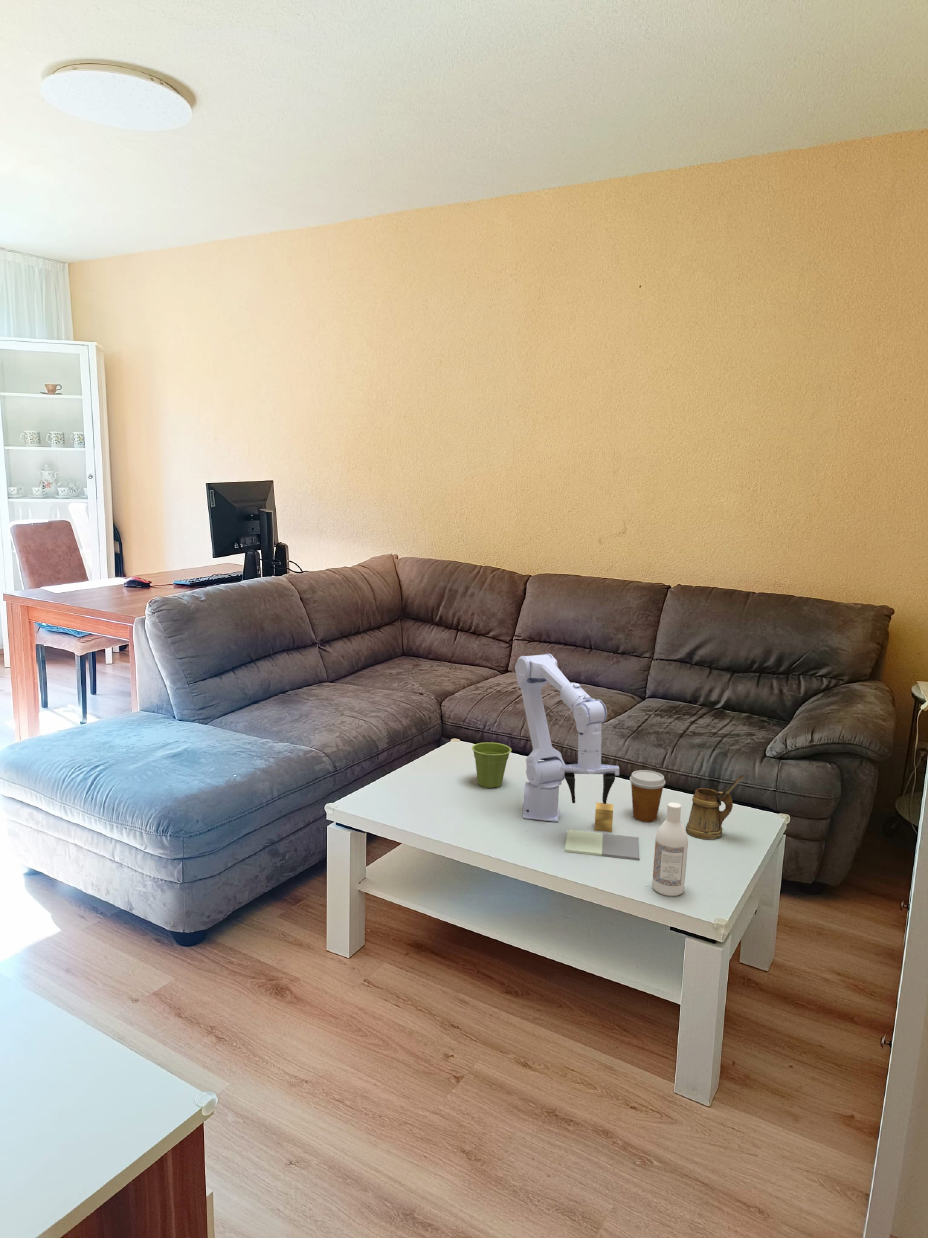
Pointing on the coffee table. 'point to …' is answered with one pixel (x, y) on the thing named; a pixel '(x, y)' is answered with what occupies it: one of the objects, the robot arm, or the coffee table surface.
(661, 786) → the disposable coffee cup
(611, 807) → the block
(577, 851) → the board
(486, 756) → the plant pot
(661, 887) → the bath foam
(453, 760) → the coffee table surface
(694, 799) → the wooden mug
